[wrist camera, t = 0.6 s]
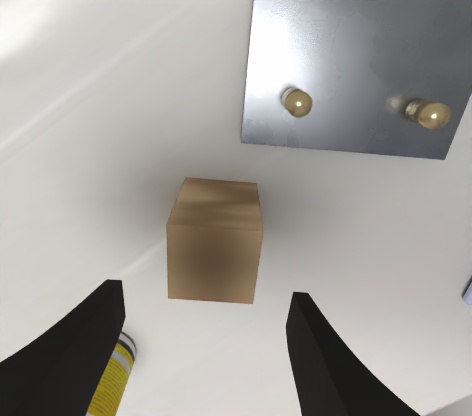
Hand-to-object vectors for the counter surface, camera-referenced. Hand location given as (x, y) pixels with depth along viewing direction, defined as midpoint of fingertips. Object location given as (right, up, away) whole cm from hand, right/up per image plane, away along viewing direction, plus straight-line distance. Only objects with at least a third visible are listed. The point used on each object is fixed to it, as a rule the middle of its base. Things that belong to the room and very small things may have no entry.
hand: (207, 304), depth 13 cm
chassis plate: (+8, +13, +3) cm, 16 cm away
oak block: (0, +4, +8) cm, 9 cm away
